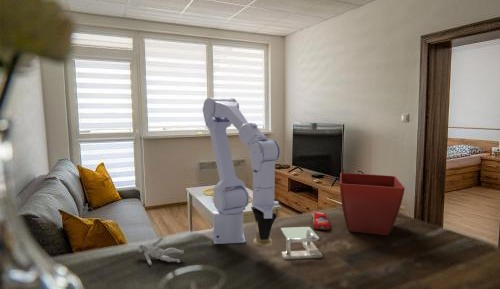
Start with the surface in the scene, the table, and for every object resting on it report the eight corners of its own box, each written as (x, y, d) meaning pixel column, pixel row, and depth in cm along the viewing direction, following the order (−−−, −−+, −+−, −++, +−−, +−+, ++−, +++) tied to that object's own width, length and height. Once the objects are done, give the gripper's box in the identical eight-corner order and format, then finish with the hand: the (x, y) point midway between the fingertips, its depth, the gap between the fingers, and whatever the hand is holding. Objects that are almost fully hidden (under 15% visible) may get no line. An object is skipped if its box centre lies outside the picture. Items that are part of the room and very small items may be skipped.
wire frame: (284, 259, 84) (284, 241, 84) (277, 245, 93) (277, 229, 93) (322, 257, 86) (322, 239, 85) (311, 243, 94) (312, 227, 94)
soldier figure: (173, 273, 79) (129, 256, 80) (174, 277, 83) (132, 261, 83) (186, 243, 84) (144, 228, 84) (186, 249, 87) (146, 234, 88)
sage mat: (287, 240, 97) (287, 239, 97) (280, 228, 106) (280, 227, 106) (319, 239, 98) (319, 238, 98) (309, 227, 108) (309, 226, 108)
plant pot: (402, 241, 97) (405, 187, 95) (337, 234, 102) (339, 183, 101) (393, 221, 115) (395, 175, 114) (338, 216, 121) (340, 172, 119)
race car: (330, 232, 105) (330, 220, 104) (313, 231, 105) (313, 219, 105) (326, 219, 118) (326, 208, 117) (311, 218, 118) (311, 207, 118)
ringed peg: (254, 247, 82) (255, 224, 81) (252, 239, 87) (252, 218, 86) (273, 246, 83) (274, 224, 82) (270, 239, 88) (270, 217, 87)
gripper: (285, 192, 76) (283, 246, 78) (273, 180, 91) (272, 225, 92) (256, 193, 76) (255, 248, 77) (248, 180, 90) (248, 226, 91)
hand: (262, 236), depth 85 cm, fingers closed on ringed peg, 4 cm apart
